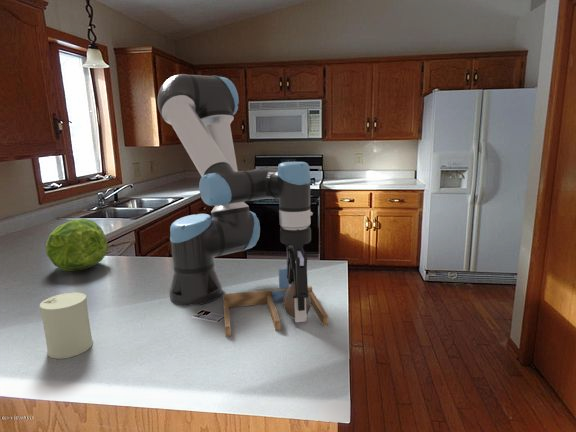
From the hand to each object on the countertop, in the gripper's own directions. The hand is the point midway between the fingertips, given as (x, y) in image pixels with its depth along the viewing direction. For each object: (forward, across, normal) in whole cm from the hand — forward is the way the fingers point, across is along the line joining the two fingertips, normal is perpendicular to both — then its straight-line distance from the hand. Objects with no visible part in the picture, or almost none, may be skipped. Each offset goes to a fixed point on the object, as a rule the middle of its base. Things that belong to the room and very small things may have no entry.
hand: (297, 314), depth 102 cm
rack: (+1, +4, +6) cm, 7 cm away
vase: (+1, 0, 0) cm, 1 cm away
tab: (-2, +13, 0) cm, 13 cm away
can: (+1, -2, +53) cm, 53 cm away
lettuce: (+1, +58, +70) cm, 91 cm away
